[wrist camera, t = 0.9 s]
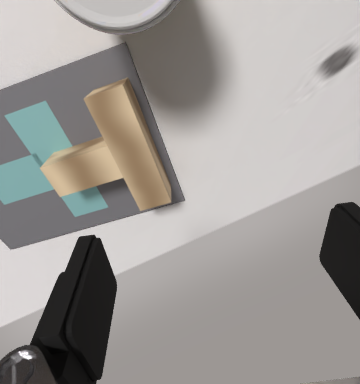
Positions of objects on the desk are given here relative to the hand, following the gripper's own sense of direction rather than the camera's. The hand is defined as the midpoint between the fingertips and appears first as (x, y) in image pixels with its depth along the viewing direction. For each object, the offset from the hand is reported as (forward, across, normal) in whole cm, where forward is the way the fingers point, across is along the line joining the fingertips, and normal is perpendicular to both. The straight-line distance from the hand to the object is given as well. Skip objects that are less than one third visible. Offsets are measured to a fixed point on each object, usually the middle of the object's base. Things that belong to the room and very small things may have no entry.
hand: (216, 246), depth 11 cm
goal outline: (+23, +19, +6) cm, 30 cm away
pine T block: (+22, +10, +4) cm, 24 cm away
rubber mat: (+23, +16, +5) cm, 28 cm away
